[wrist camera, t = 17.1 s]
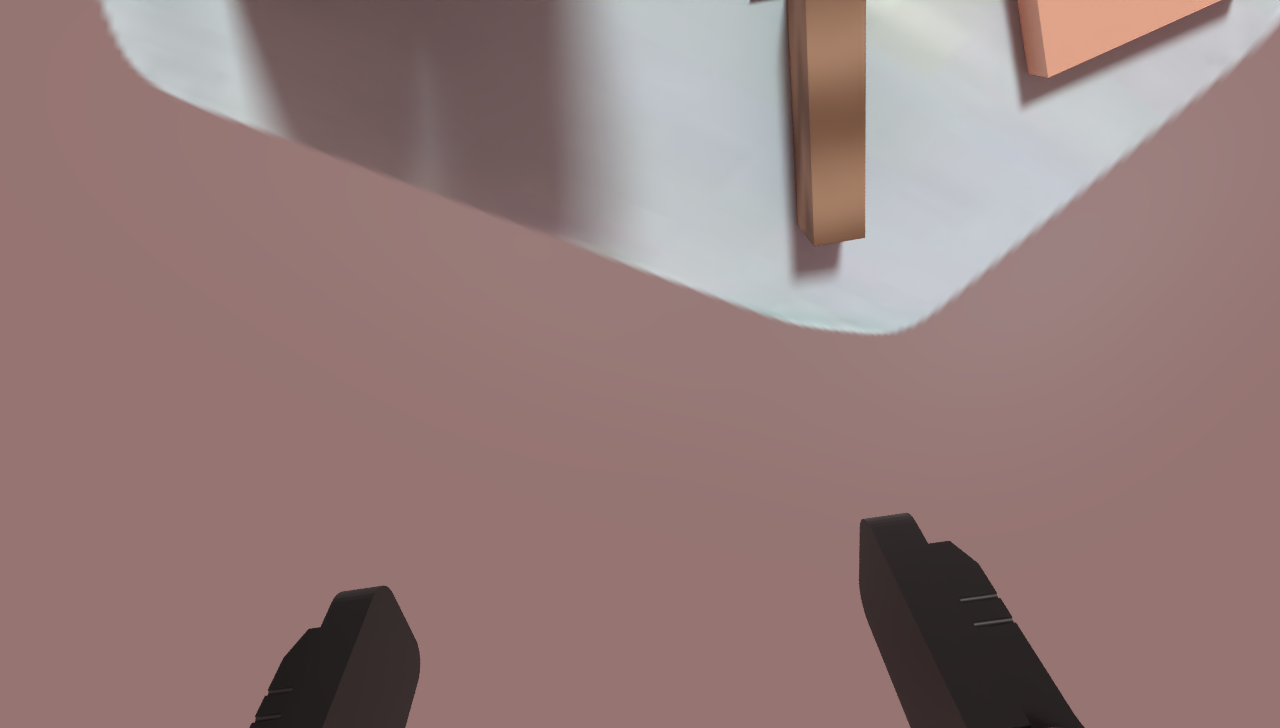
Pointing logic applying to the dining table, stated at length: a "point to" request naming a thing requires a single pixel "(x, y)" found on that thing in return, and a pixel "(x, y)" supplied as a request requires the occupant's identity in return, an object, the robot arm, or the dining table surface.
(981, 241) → the dining table surface
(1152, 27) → the tile
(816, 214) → the wooden bar with blade
